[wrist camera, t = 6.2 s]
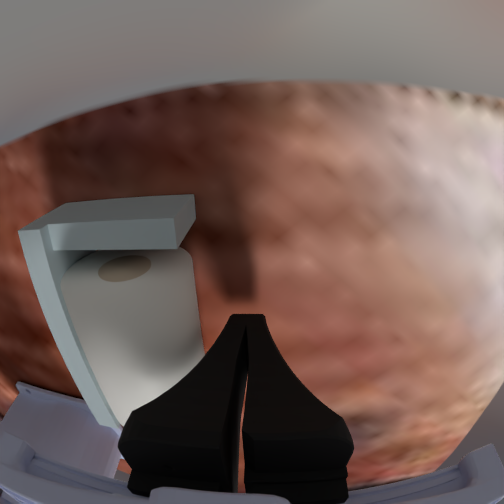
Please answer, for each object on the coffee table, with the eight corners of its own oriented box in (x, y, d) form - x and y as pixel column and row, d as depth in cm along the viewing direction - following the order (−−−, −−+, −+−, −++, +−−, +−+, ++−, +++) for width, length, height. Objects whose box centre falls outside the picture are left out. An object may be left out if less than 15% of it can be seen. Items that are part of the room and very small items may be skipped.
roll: (167, 458, 10) (231, 386, 14) (112, 325, 7) (220, 254, 11) (93, 403, 12) (157, 351, 16) (39, 278, 10) (132, 233, 14)
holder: (118, 381, 16) (99, 424, 13) (65, 203, 12) (17, 230, 9) (216, 391, 16) (208, 441, 13) (194, 194, 12) (169, 223, 9)
